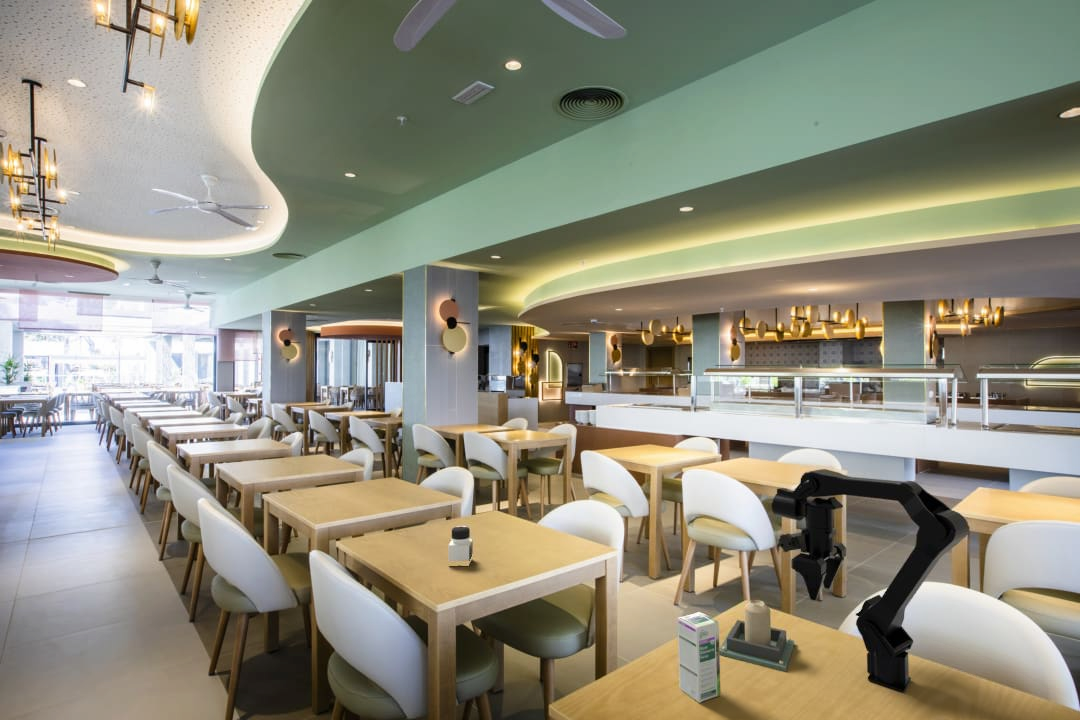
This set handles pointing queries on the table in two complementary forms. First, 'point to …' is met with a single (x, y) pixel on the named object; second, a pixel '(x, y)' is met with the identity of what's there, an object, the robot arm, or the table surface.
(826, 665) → the table surface
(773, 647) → the header socket
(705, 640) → the syrup box
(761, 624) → the candle
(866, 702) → the table surface
